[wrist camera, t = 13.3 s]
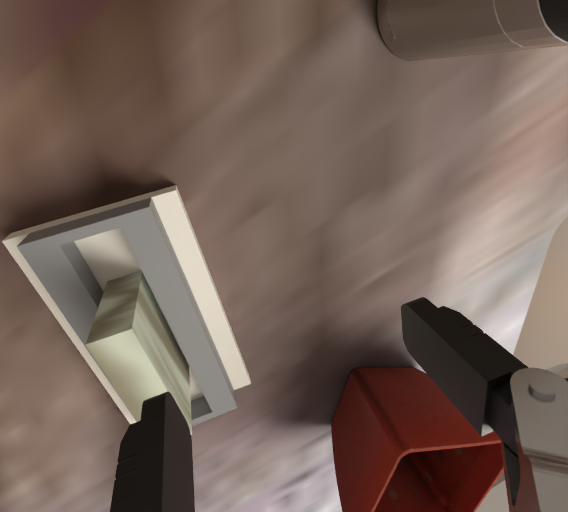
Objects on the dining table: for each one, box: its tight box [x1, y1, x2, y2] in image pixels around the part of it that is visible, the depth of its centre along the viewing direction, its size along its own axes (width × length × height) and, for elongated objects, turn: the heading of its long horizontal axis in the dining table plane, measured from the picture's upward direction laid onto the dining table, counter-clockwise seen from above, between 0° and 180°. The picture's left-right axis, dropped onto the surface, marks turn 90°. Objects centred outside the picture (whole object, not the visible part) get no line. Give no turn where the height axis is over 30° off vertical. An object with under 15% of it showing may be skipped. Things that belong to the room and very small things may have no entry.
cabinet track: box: [2, 185, 251, 426], centre depth 39 cm, size 16×28×5 cm, turn 13°
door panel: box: [85, 270, 192, 435], centre depth 35 cm, size 4×14×10 cm, turn 13°
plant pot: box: [331, 368, 504, 512], centre depth 51 cm, size 19×19×17 cm
